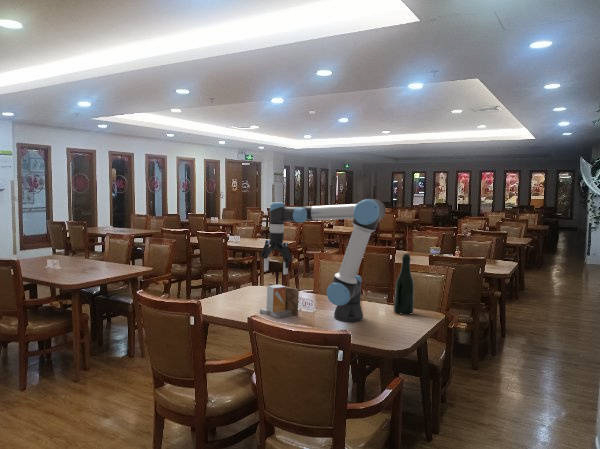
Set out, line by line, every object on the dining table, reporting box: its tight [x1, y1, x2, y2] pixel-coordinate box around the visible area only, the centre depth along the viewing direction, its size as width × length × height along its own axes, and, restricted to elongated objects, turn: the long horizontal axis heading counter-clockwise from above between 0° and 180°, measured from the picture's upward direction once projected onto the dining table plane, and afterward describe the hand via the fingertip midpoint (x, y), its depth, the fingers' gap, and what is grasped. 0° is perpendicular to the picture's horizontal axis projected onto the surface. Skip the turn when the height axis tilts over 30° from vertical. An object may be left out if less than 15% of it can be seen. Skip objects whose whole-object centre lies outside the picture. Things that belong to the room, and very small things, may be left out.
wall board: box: [259, 282, 300, 319], centre depth 251 cm, size 20×11×14 cm, turn 51°
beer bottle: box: [393, 253, 415, 315], centre depth 260 cm, size 10×10×33 cm
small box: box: [266, 284, 287, 312], centre depth 250 cm, size 8×6×13 cm
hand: (275, 272), depth 248 cm, fingers open, 13 cm apart
